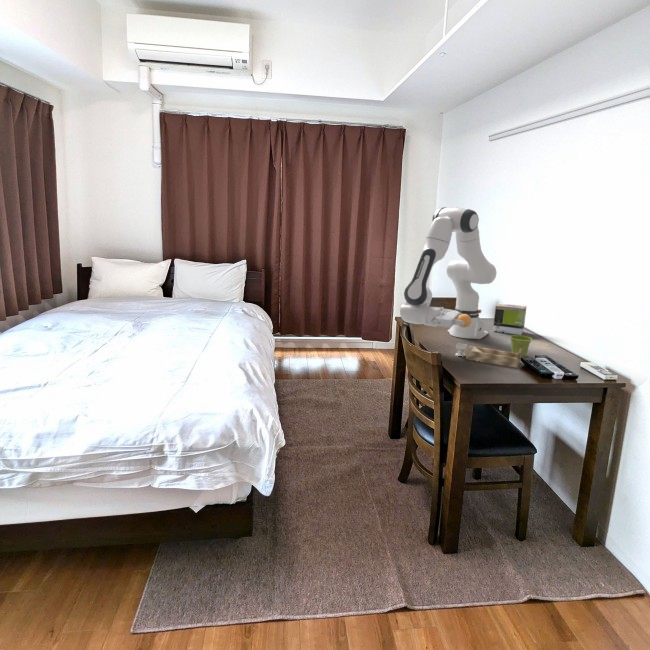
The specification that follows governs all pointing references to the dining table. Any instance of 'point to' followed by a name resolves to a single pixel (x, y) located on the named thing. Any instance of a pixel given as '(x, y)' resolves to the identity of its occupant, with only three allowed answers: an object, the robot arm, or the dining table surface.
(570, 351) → the dining table surface
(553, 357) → the dining table surface
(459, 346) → the tee
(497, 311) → the white retro computer
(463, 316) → the ball
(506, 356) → the lane
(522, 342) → the plant pot
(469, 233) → the robot arm
